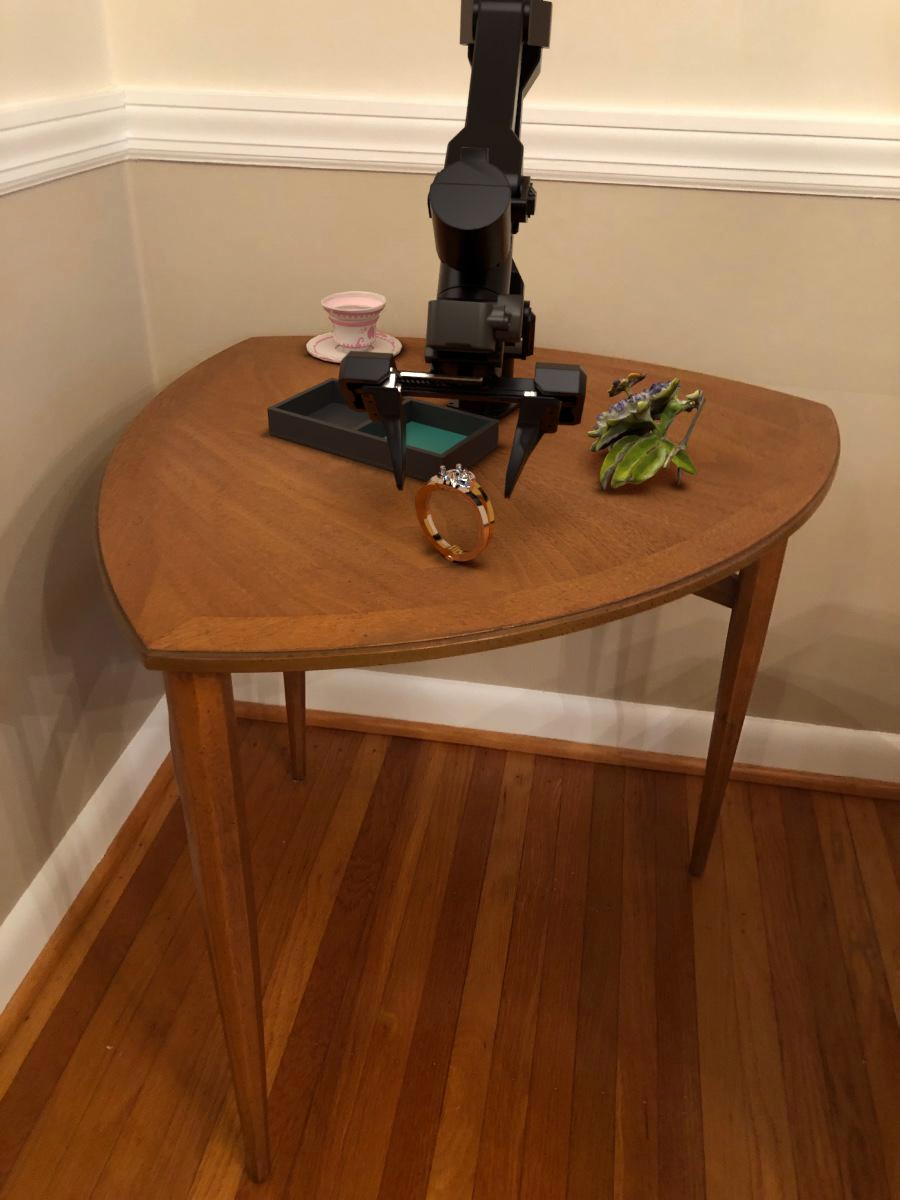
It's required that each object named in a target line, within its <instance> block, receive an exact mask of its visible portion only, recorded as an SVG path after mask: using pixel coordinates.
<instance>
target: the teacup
mask: <svg viewBox="0 0 900 1200" xmlns="http://www.w3.org/2000/svg"><path fill="white" fill-rule="evenodd" d="M320 304H321V307H322V308H323V310H324V312H326V313H327V314H328V319H329V320H330V321H331V323H332V331H329V332H326V333H325V332H324V333H322V334H319V335H316V336H314V337H312V338H310V339H309V340H308V342H307V343H306V345H305V347H306V351H307V353H308V354H310V355H311V356H312V357H314V358H317V359H320V360H322V361H326V362H330V363H337V364H340V362H341V360H342V359H343V358H344V357H345V356H346V354H347V353H348V352H349V351H362V352H379V353H393V355H394V357H396V356H397V355H399V354H400V353H401V351H402V349H403V345H402V343H401V341H400V340H399V339H397V338H396V337H394V336H393V335H390V334H387V333H383V332H379V331H377V322H378V321H379V319H380V314H381V313H382V312H383V311H384V309H385V308H386V304H387V298H386V297H385V296H384V295H382V294H380V293H376V292H372V291H360V290H357V291H355V290H353V291H351V290H350V291H343V292H337V293H336V292H335V293H333V294H329V295H326V296H325V297H323V298H322V299H321V300H320Z"/></svg>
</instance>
